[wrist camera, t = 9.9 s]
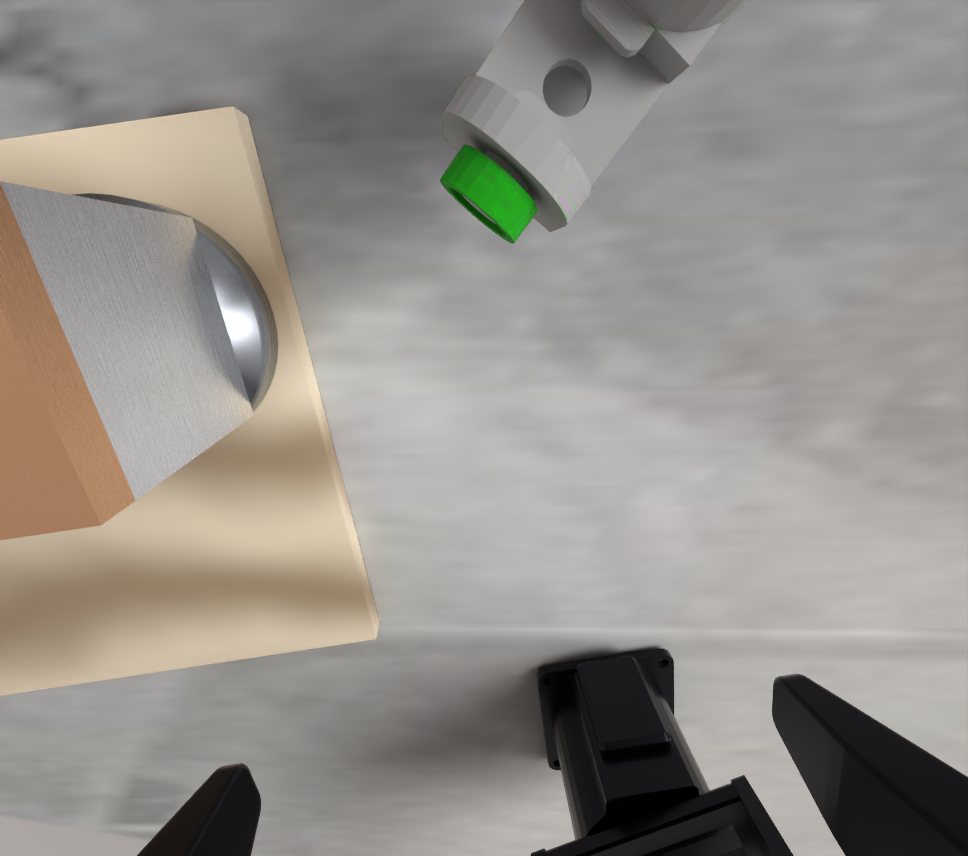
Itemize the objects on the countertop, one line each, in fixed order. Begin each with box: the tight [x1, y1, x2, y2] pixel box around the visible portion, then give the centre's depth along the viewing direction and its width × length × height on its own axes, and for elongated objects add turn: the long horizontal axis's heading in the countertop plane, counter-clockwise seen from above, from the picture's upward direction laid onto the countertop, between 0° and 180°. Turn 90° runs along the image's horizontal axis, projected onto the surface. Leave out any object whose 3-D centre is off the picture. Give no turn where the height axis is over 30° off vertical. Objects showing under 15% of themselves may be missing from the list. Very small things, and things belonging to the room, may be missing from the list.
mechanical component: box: [440, 0, 750, 243], centre depth 11 cm, size 3×10×10 cm, turn 142°
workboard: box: [0, 106, 380, 696], centre depth 18 cm, size 20×17×1 cm
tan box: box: [0, 181, 254, 540], centre depth 11 cm, size 6×6×7 cm
